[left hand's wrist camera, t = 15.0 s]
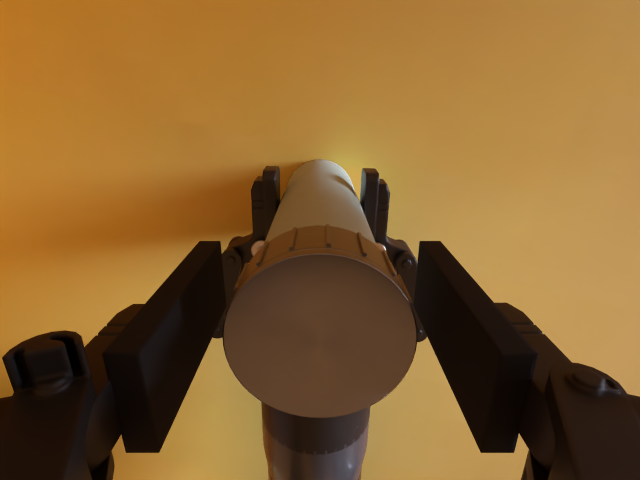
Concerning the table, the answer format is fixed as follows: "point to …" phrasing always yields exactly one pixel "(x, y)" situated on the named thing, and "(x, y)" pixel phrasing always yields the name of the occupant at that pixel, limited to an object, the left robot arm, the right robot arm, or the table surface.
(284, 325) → the lid
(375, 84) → the table surface
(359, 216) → the jar
